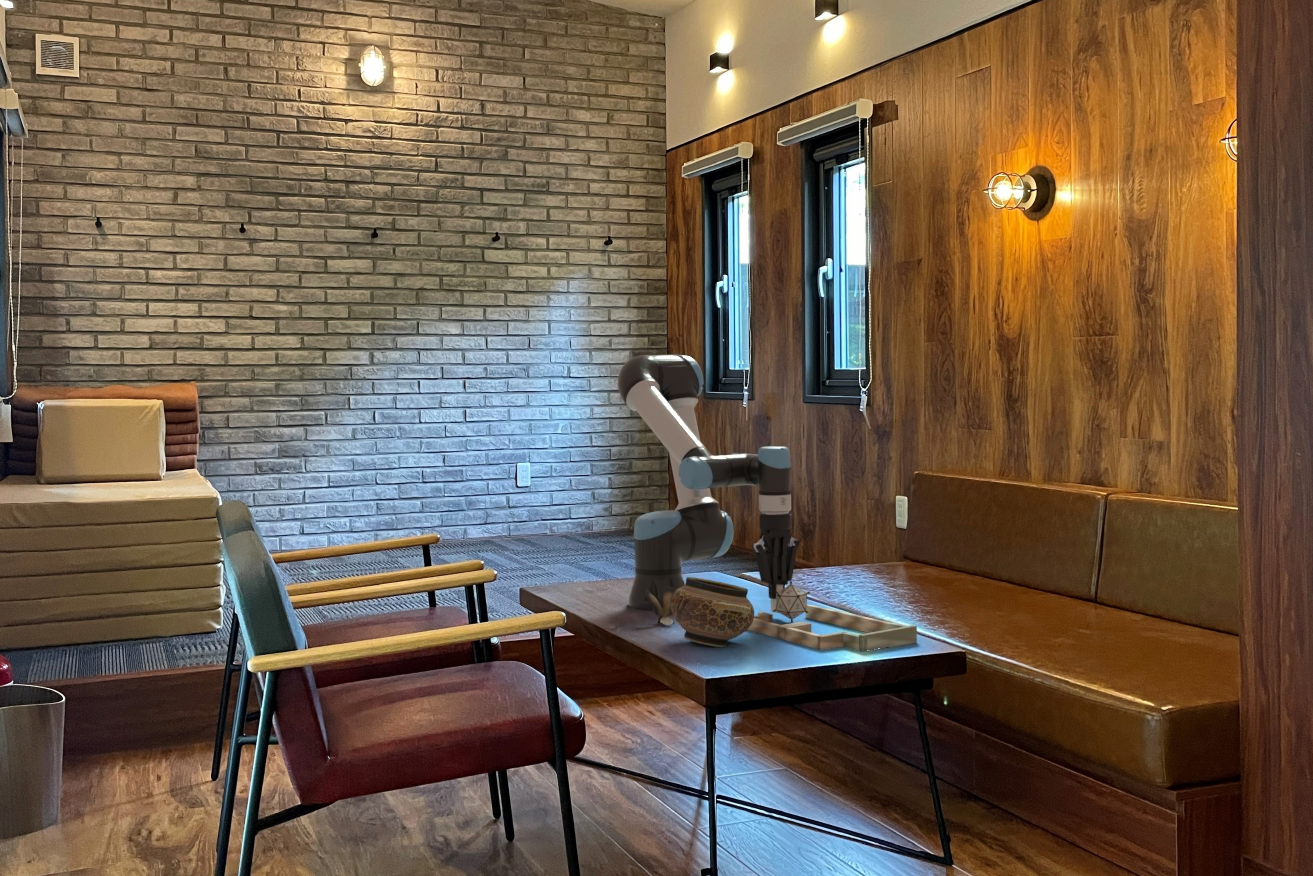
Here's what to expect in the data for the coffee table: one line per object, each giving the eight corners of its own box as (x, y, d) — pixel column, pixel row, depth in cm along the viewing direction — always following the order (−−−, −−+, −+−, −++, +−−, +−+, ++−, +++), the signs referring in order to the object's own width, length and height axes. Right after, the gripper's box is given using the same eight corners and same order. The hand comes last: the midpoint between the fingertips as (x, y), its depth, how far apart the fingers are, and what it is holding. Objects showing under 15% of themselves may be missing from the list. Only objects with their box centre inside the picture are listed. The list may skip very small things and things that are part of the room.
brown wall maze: (737, 628, 277) (736, 613, 277) (809, 616, 289) (809, 602, 289) (841, 656, 248) (840, 639, 248) (917, 642, 260) (916, 626, 259)
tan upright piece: (664, 622, 286) (663, 584, 286) (685, 626, 281) (685, 588, 281) (640, 627, 281) (639, 589, 280) (662, 631, 276) (661, 592, 275)
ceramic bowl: (651, 640, 267) (650, 572, 267) (723, 631, 275) (722, 565, 274) (700, 663, 245) (699, 589, 244) (777, 653, 252) (776, 581, 251)
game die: (806, 627, 276) (805, 583, 276) (769, 626, 279) (768, 583, 279) (813, 620, 285) (812, 577, 285) (777, 619, 288) (776, 577, 287)
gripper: (763, 515, 279) (765, 617, 280) (807, 511, 286) (808, 610, 287) (743, 513, 285) (745, 613, 287) (786, 508, 293) (788, 606, 294)
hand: (777, 611), depth 287 cm, fingers closed
